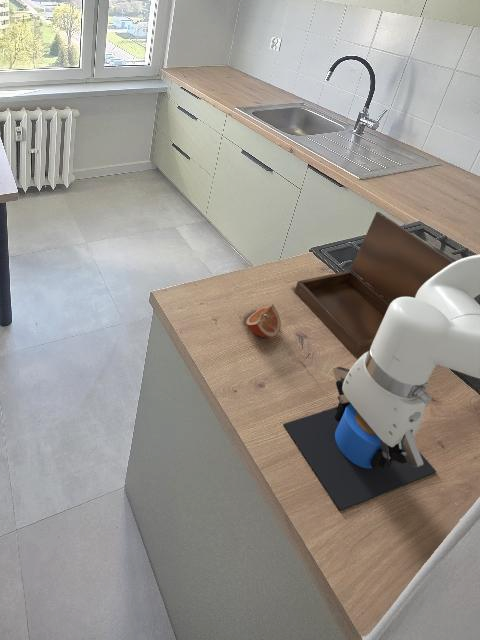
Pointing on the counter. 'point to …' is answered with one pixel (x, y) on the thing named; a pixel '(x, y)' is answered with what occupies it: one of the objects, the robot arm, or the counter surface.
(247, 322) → the fruit slice
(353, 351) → the chest
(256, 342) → the counter surface
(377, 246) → the lid
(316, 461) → the mat
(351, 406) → the tape roll
